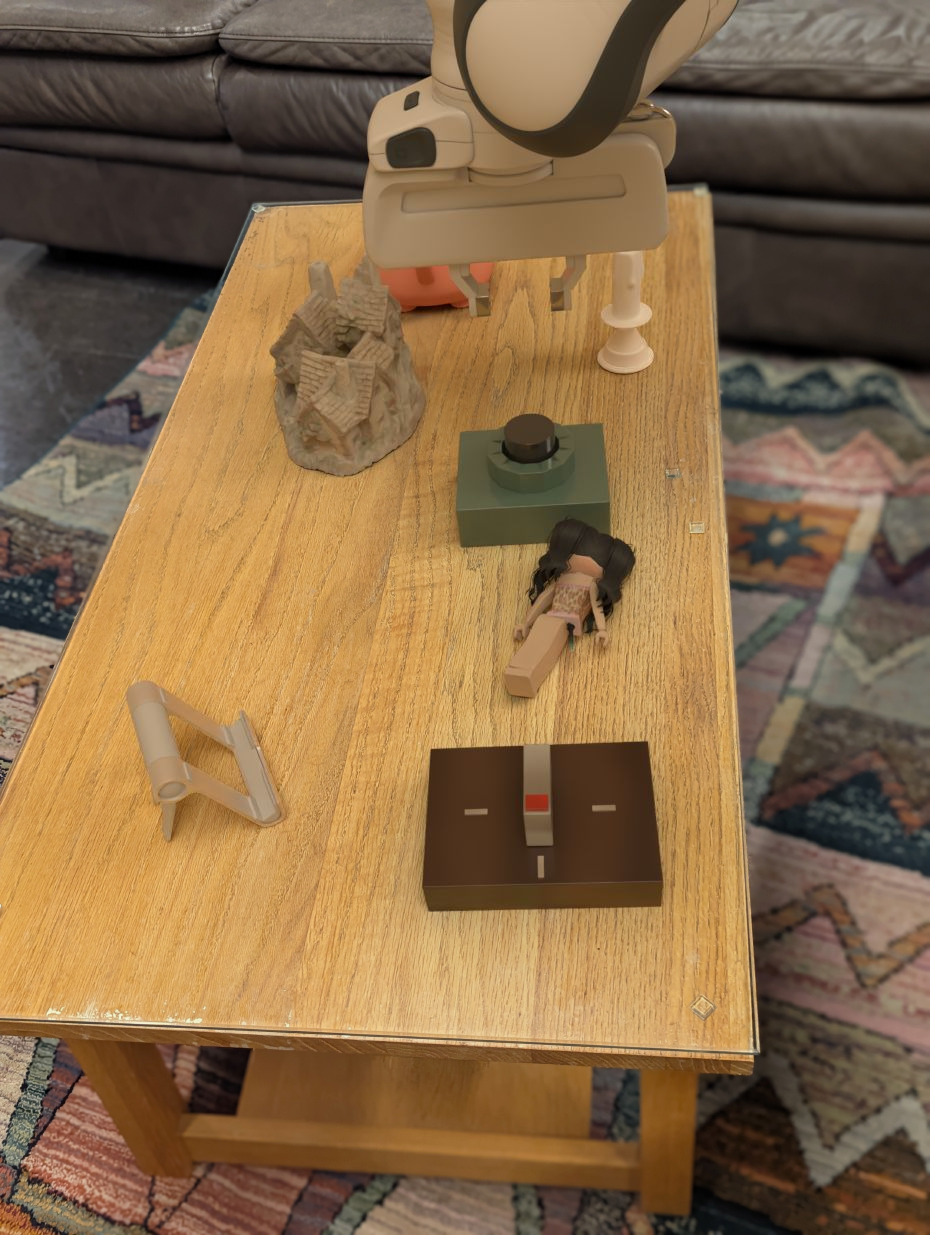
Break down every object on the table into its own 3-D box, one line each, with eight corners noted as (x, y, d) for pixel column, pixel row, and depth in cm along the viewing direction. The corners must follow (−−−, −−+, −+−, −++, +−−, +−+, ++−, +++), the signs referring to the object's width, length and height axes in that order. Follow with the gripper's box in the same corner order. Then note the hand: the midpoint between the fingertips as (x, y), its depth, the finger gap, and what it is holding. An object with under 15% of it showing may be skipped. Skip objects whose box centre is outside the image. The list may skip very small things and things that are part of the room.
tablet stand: (288, 819, 71) (258, 744, 65) (173, 868, 69) (130, 796, 63) (252, 726, 76) (221, 649, 70) (145, 770, 75) (103, 694, 69)
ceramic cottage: (325, 347, 109) (291, 211, 97) (458, 396, 102) (439, 256, 90) (222, 440, 101) (172, 306, 90) (358, 501, 94) (323, 363, 83)
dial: (526, 776, 68) (523, 741, 65) (552, 776, 68) (549, 740, 65) (526, 846, 64) (522, 812, 62) (553, 846, 64) (550, 811, 61)
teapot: (498, 234, 121) (489, 124, 113) (496, 332, 108) (486, 216, 99) (381, 243, 123) (363, 136, 114) (365, 341, 109) (343, 228, 100)
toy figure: (595, 715, 75) (644, 560, 83) (581, 658, 70) (635, 501, 79) (498, 702, 77) (556, 553, 86) (479, 646, 73) (542, 495, 82)
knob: (554, 432, 87) (554, 411, 85) (556, 463, 84) (555, 442, 83) (505, 435, 87) (503, 414, 86) (505, 466, 85) (503, 446, 83)
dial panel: (646, 767, 71) (648, 739, 69) (661, 906, 64) (663, 880, 62) (435, 774, 72) (430, 746, 70) (428, 912, 65) (421, 886, 63)
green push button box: (602, 460, 93) (602, 402, 88) (610, 539, 86) (610, 481, 82) (464, 468, 94) (457, 411, 89) (460, 547, 87) (452, 490, 83)
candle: (653, 341, 104) (657, 224, 95) (654, 373, 100) (658, 254, 92) (597, 343, 105) (596, 226, 96) (596, 375, 101) (595, 257, 92)
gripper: (672, 76, 68) (664, 275, 78) (352, 104, 70) (384, 296, 80) (683, 118, 64) (673, 323, 74) (341, 147, 65) (377, 344, 75)
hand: (520, 309), depth 77 cm, fingers open, 4 cm apart
